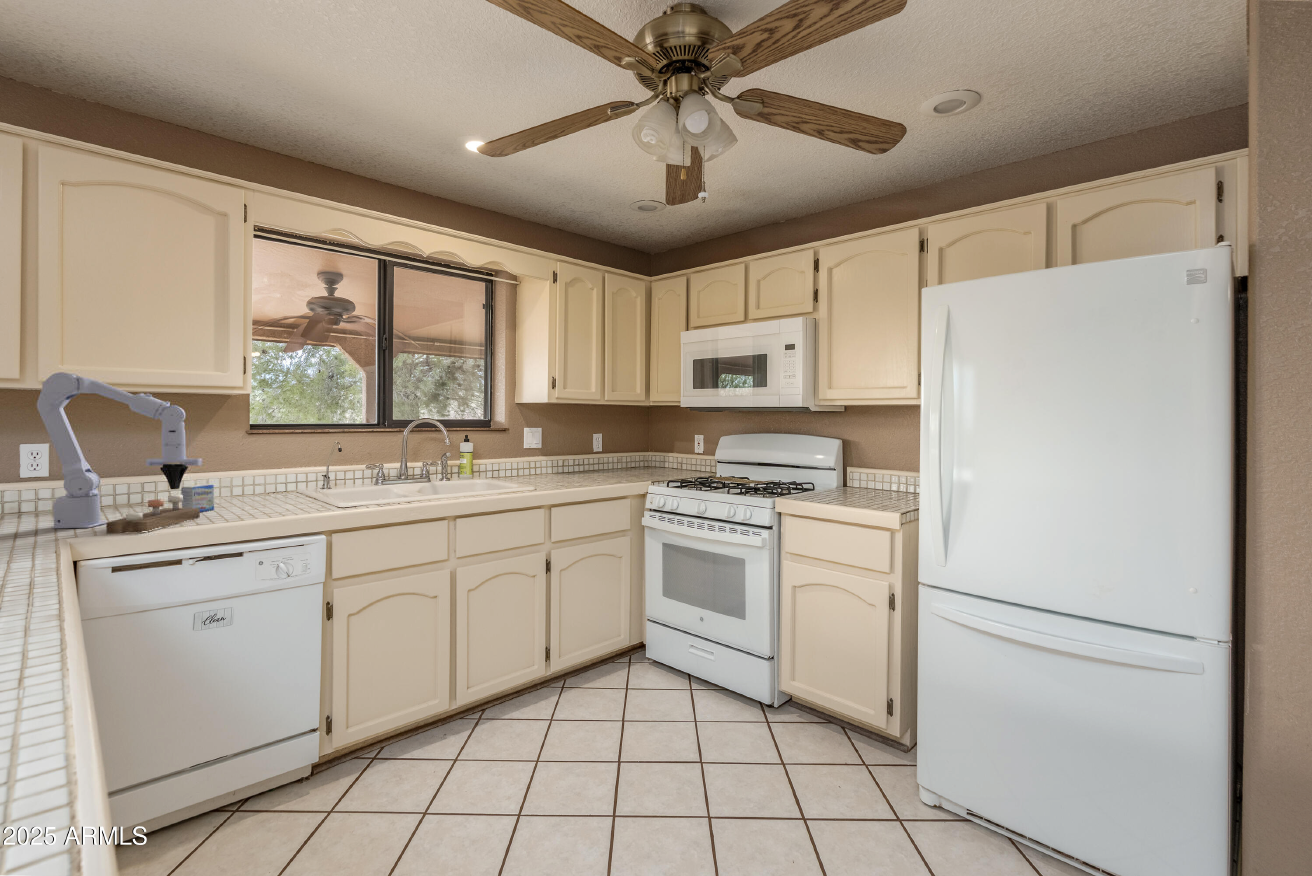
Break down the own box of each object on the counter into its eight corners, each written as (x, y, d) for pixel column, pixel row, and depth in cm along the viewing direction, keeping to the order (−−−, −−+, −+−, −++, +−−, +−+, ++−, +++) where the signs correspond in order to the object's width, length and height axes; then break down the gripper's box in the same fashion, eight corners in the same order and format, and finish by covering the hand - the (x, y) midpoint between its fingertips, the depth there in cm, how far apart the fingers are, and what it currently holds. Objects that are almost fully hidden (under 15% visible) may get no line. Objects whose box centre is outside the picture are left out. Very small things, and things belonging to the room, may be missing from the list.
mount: (106, 533, 166) (106, 522, 166) (164, 517, 190) (164, 508, 189) (147, 532, 167) (146, 521, 167) (199, 517, 191) (199, 507, 191)
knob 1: (122, 531, 168) (122, 515, 167) (132, 528, 171) (131, 512, 171) (137, 531, 168) (136, 514, 168) (146, 528, 172) (145, 512, 171)
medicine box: (192, 513, 198) (192, 487, 197) (181, 513, 198) (180, 486, 198) (214, 509, 205) (214, 484, 205) (203, 509, 206) (203, 483, 206)
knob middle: (145, 516, 176) (144, 501, 176) (153, 514, 180) (153, 499, 180) (158, 516, 177) (158, 501, 177) (166, 514, 180) (166, 499, 180)
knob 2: (165, 511, 185) (165, 496, 185) (173, 509, 189) (172, 495, 189) (178, 511, 186) (178, 496, 185) (185, 509, 189) (185, 494, 189)
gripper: (138, 445, 181) (139, 490, 182) (191, 445, 183) (192, 490, 184) (154, 444, 188) (155, 487, 189) (205, 444, 190) (206, 487, 191)
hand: (174, 489), depth 187 cm, fingers closed
